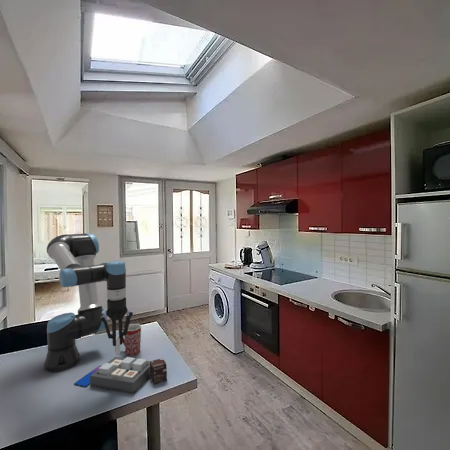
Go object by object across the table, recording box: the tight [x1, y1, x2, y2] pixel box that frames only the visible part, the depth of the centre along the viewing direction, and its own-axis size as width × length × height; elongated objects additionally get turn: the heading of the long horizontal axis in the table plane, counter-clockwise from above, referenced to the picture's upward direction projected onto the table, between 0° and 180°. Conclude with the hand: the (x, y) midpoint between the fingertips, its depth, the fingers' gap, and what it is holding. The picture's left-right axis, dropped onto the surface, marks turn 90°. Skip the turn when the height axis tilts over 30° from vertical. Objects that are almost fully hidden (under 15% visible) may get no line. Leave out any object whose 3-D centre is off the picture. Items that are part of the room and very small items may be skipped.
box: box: [149, 357, 168, 385], centre depth 115 cm, size 6×6×7 cm
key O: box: [99, 362, 115, 375], centre depth 114 cm, size 4×4×3 cm
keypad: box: [89, 356, 151, 395], centre depth 116 cm, size 21×16×4 cm
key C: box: [123, 370, 139, 379], centre depth 111 cm, size 4×4×3 cm
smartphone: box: [73, 365, 102, 388], centre depth 118 cm, size 7×1×15 cm
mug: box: [122, 323, 142, 357], centre depth 140 cm, size 13×9×14 cm
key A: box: [111, 359, 123, 370], centre depth 120 cm, size 4×4×3 cm
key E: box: [132, 358, 148, 372], centre depth 117 cm, size 4×4×3 cm
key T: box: [111, 369, 126, 378], centre depth 112 cm, size 4×4×3 cm
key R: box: [121, 356, 136, 370], centre depth 119 cm, size 4×4×3 cm
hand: (117, 352), depth 113 cm, fingers closed
